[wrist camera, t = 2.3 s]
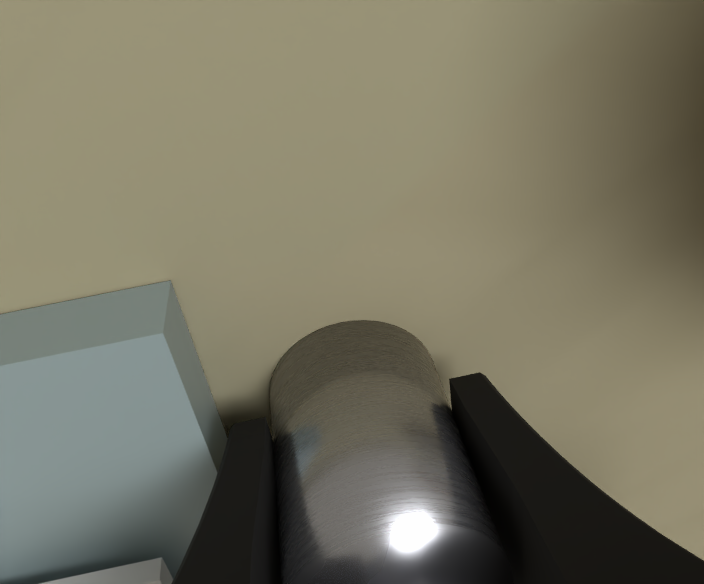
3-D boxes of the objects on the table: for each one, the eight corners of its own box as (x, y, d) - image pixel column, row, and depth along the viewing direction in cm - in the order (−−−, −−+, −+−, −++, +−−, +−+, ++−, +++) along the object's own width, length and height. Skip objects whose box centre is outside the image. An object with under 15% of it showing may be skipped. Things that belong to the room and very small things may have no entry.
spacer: (440, 428, 16) (514, 638, 12) (288, 461, 16) (307, 685, 11) (428, 304, 14) (512, 506, 9) (252, 341, 13) (260, 561, 9)
